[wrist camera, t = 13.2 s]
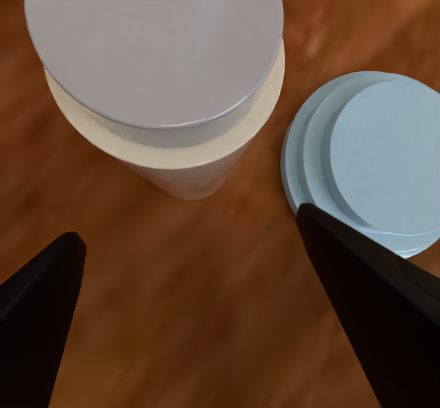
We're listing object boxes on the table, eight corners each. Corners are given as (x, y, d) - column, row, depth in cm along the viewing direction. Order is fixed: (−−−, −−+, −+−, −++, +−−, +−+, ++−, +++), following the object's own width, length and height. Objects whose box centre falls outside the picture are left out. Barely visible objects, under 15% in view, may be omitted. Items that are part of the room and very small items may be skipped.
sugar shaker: (248, 165, 16) (364, 40, 4) (182, 217, 15) (130, 220, 4) (196, 101, 16) (186, -188, 4) (129, 150, 15) (-82, -43, 4)
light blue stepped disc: (472, 229, 17) (530, 232, 14) (310, 283, 16) (336, 299, 13) (419, 63, 17) (465, 31, 14) (257, 100, 16) (270, 74, 13)
